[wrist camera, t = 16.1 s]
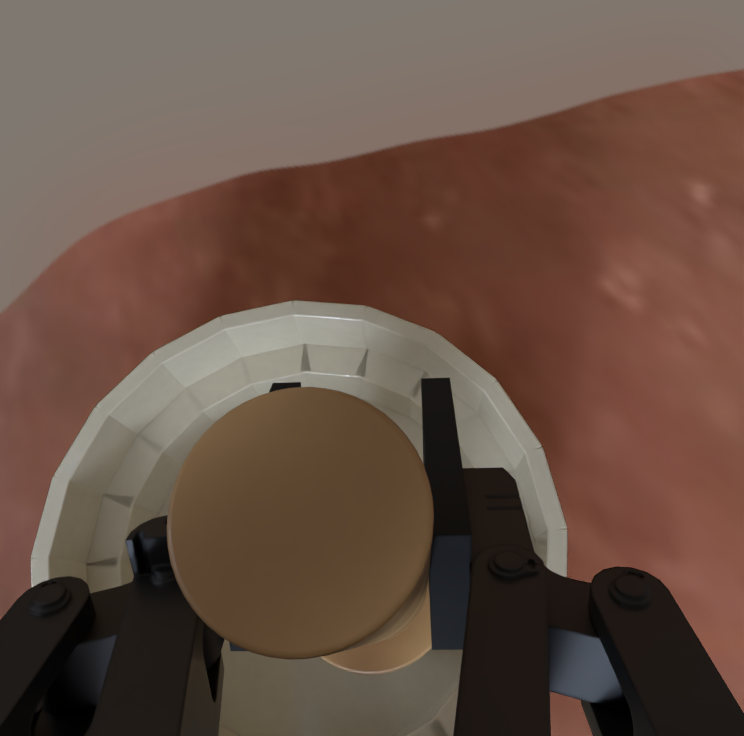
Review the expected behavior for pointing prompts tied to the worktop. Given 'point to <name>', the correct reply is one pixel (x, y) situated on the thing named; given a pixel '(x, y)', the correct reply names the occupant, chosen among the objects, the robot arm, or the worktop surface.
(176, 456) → the mixing bowl
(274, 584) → the wooden masher
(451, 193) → the worktop surface
